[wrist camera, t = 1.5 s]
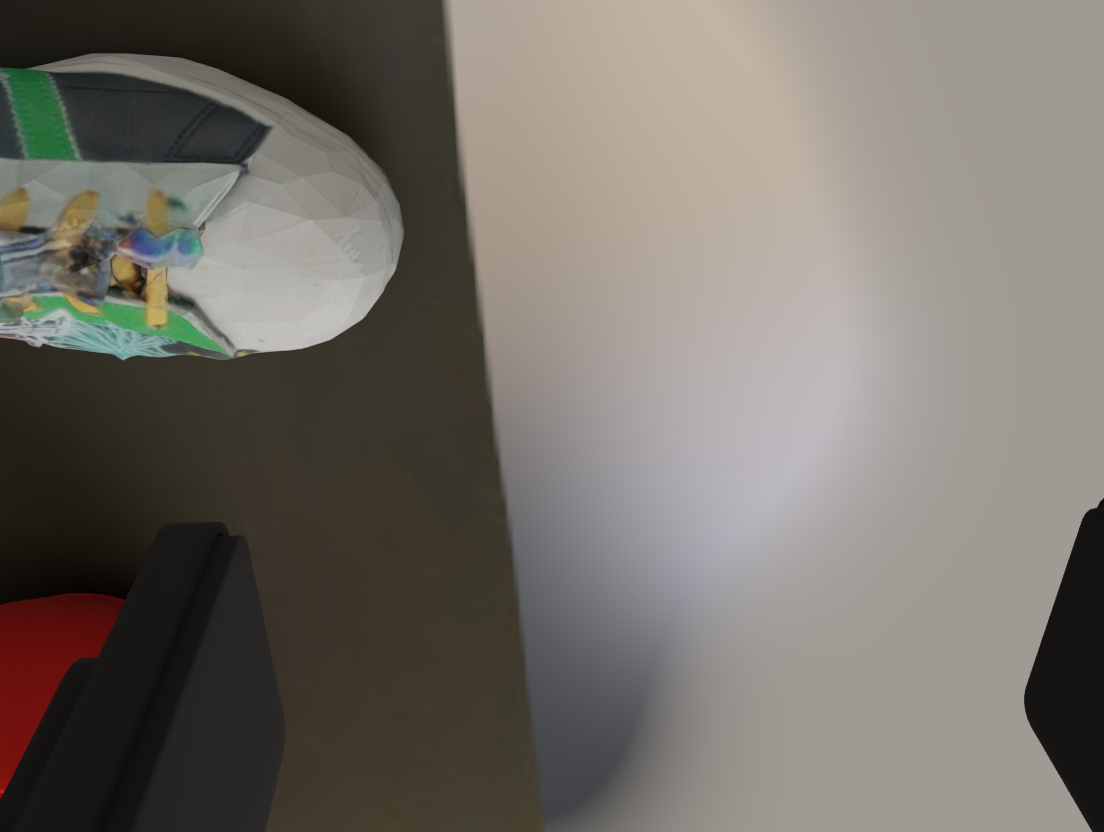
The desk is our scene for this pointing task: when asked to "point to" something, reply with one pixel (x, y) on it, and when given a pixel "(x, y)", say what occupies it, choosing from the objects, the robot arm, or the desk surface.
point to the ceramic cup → (43, 660)
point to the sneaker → (181, 213)
